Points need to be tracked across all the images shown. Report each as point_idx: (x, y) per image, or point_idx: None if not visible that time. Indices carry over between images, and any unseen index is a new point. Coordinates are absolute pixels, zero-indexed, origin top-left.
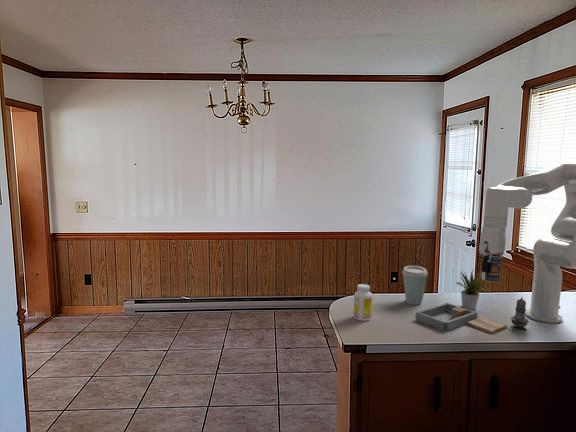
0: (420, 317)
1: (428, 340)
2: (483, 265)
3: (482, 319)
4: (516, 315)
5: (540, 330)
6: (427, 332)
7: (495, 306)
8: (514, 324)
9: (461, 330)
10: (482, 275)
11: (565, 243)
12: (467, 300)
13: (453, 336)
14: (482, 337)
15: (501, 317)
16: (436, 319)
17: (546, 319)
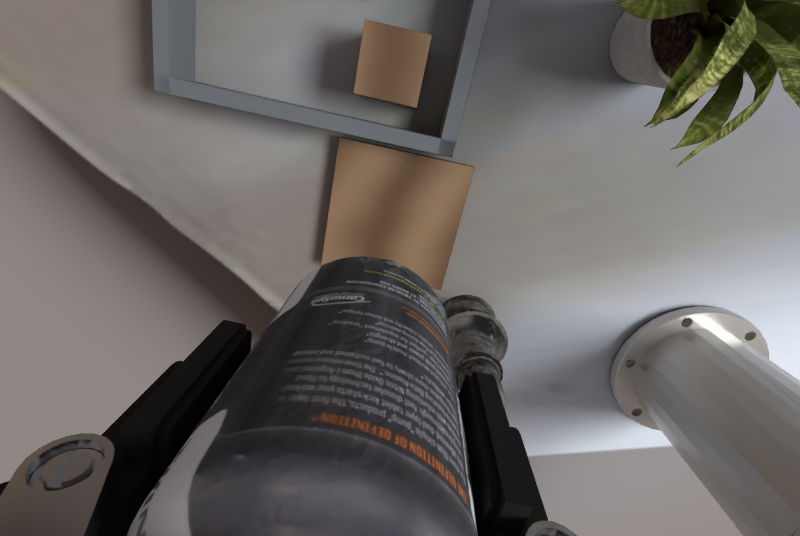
0: None
1: (17, 74)
2: (141, 403)
3: (438, 187)
4: (456, 346)
5: (503, 381)
6: (88, 23)
7: (752, 162)
8: None
9: (254, 146)
10: (292, 293)
11: None
12: (629, 32)
13: (158, 145)
14: (254, 242)
15: (570, 235)
16: (153, 16)
17: (624, 392)
